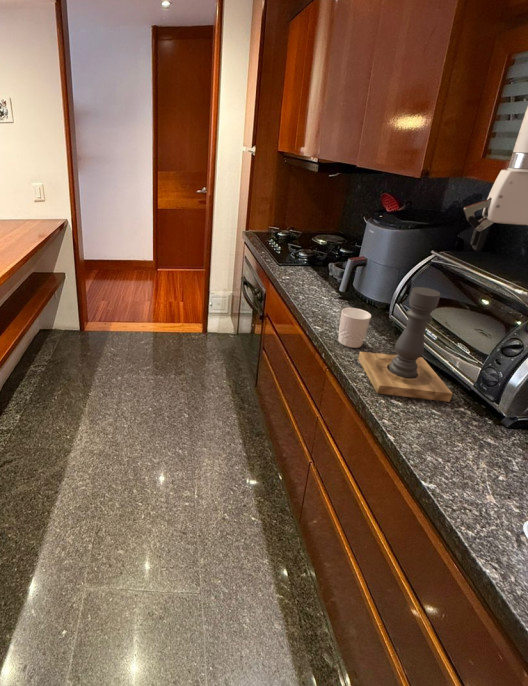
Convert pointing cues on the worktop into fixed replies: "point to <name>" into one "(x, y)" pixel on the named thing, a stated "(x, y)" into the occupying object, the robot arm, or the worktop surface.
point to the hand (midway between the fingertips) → (505, 251)
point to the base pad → (391, 384)
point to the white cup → (353, 327)
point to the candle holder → (414, 332)
